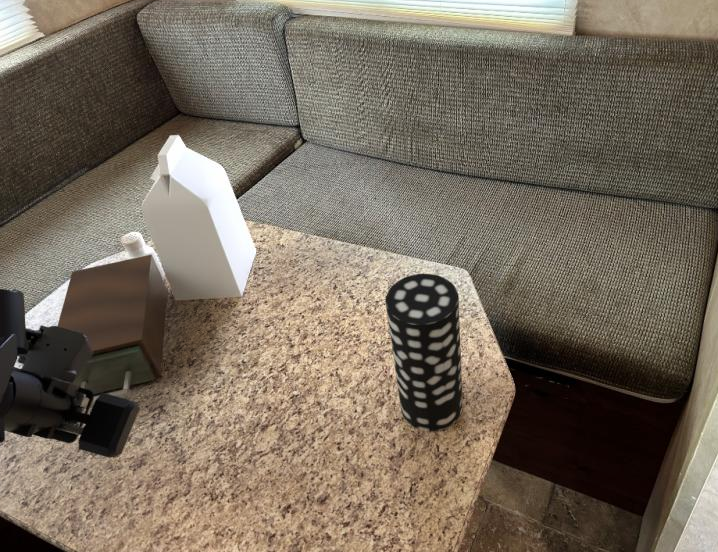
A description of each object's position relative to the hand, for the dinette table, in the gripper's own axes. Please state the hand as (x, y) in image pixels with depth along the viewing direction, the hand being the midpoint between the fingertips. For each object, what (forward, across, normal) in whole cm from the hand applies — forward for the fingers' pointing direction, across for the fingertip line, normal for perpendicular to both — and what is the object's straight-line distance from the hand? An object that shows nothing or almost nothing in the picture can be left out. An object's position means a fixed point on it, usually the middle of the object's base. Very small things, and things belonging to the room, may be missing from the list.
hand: (80, 414), depth 75 cm
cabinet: (+18, +6, -12) cm, 23 cm away
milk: (+24, -2, -27) cm, 36 cm away
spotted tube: (+4, -42, -13) cm, 44 cm away
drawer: (+15, +5, -9) cm, 19 cm away
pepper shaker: (+26, +10, -24) cm, 36 cm away
